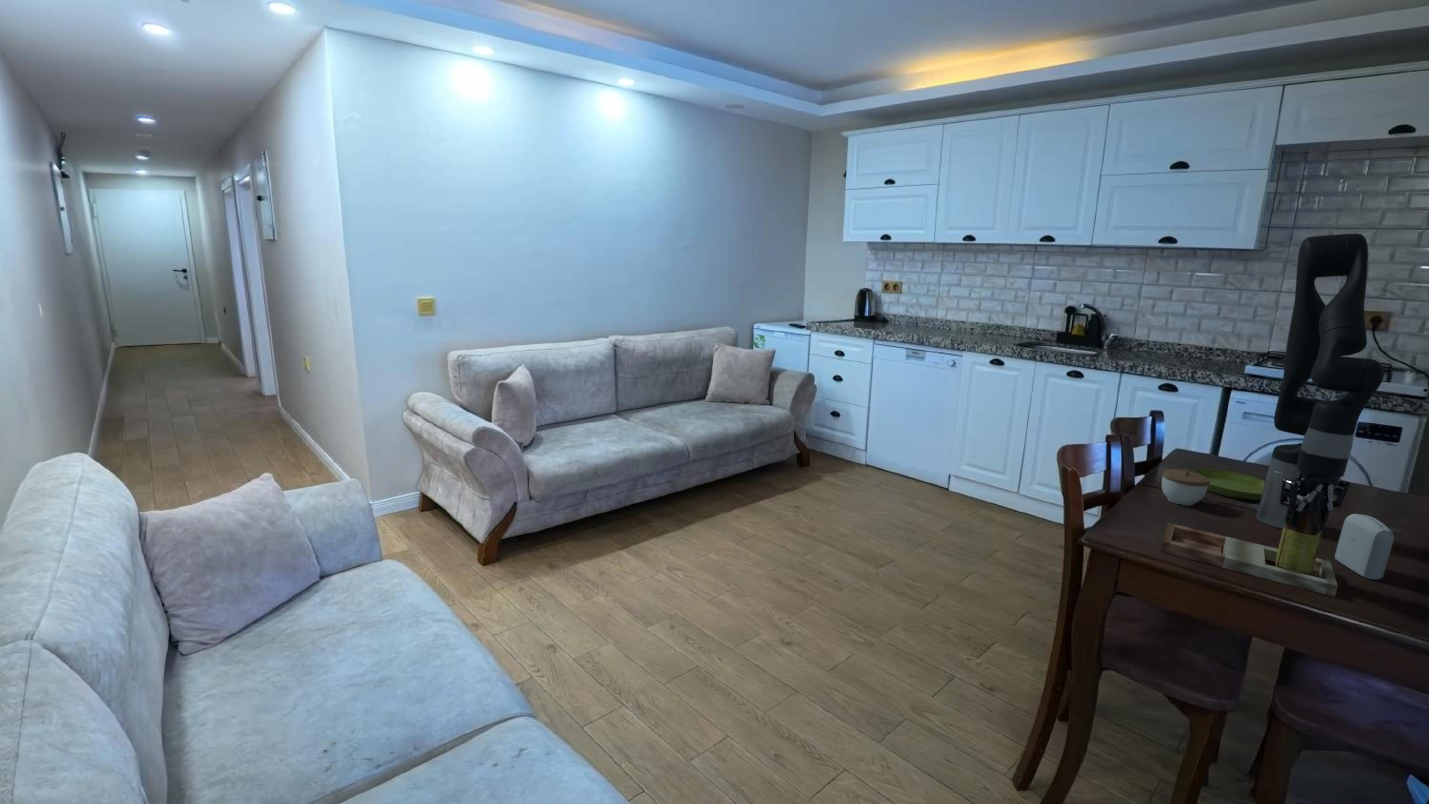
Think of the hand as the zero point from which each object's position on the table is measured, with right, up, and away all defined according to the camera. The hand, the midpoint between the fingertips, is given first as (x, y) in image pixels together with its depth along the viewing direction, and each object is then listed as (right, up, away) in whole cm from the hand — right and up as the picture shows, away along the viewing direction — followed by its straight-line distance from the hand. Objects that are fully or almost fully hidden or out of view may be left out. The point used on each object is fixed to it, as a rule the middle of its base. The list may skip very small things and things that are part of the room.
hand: (1304, 524), depth 141 cm
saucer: (+26, 0, +53) cm, 59 cm away
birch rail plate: (-7, -10, +8) cm, 14 cm away
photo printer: (+17, -11, +6) cm, 22 cm away
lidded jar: (+4, -2, +43) cm, 43 cm away
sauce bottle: (0, -11, +3) cm, 12 cm away
